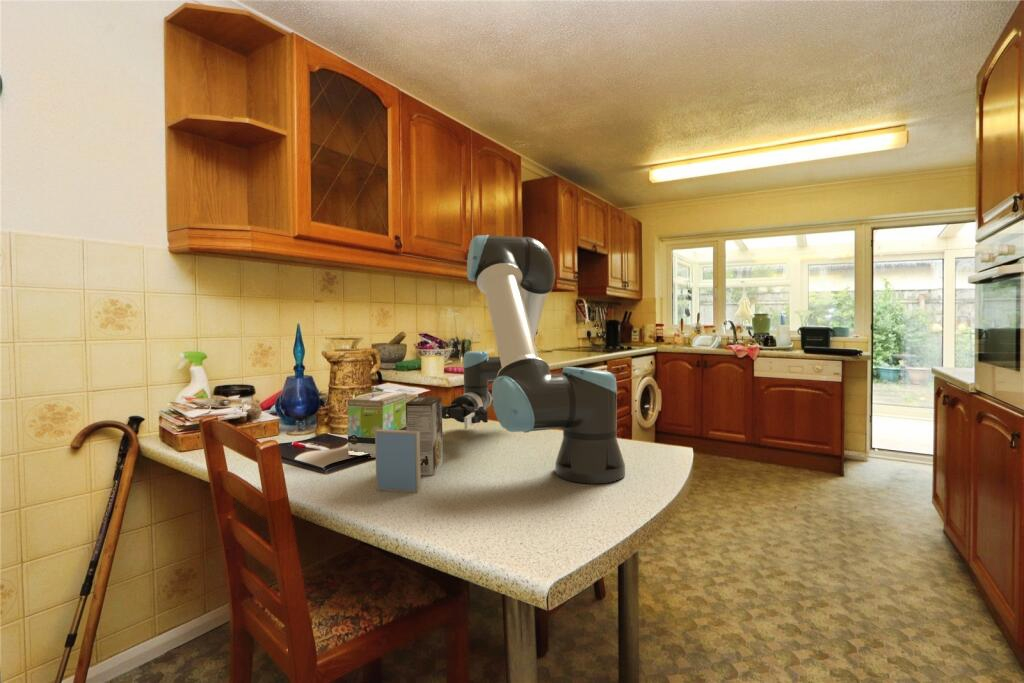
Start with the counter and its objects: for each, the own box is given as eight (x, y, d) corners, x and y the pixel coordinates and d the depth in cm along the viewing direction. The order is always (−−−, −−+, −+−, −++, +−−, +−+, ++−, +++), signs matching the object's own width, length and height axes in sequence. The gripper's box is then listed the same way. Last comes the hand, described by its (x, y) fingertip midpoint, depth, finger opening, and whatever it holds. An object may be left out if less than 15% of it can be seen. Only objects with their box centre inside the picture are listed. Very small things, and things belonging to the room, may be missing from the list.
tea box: (383, 458, 121) (382, 399, 120) (346, 456, 123) (345, 398, 122) (408, 443, 135) (407, 391, 135) (375, 442, 137) (374, 390, 137)
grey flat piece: (420, 490, 97) (419, 430, 97) (417, 492, 96) (416, 432, 95) (379, 487, 99) (378, 429, 99) (375, 490, 98) (374, 430, 97)
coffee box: (417, 463, 116) (416, 396, 116) (443, 463, 116) (442, 396, 115) (405, 475, 107) (404, 402, 106) (434, 475, 106) (433, 402, 106)
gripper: (508, 421, 138) (488, 439, 118) (426, 418, 144) (393, 435, 123) (508, 395, 138) (488, 408, 117) (425, 393, 143) (392, 405, 123)
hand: (439, 422), depth 120 cm, fingers open, 13 cm apart
